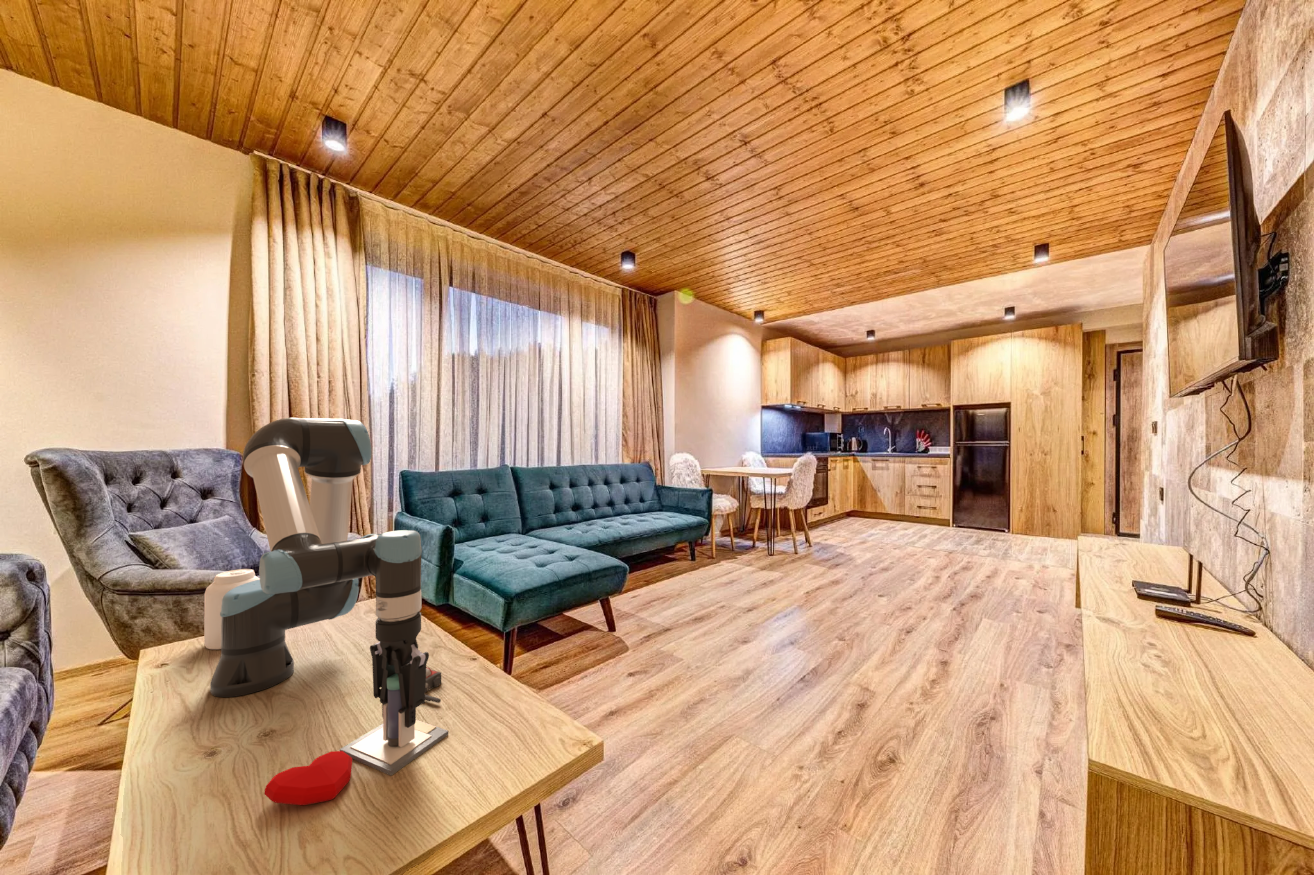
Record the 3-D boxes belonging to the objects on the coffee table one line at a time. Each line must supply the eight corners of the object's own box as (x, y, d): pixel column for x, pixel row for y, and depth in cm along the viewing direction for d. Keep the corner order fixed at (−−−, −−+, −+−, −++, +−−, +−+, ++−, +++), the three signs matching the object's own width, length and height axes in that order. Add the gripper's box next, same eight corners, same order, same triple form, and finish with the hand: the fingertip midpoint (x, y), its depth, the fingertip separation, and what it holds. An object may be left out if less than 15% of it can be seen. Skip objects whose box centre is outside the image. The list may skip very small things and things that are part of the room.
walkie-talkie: (372, 691, 106) (435, 710, 99) (372, 672, 107) (435, 689, 99) (406, 673, 115) (467, 690, 107) (406, 655, 115) (467, 671, 107)
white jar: (262, 628, 142) (262, 563, 142) (263, 641, 132) (264, 572, 133) (205, 640, 133) (205, 571, 133) (203, 655, 124) (203, 581, 124)
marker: (382, 744, 85) (382, 679, 85) (401, 731, 89) (401, 669, 89) (396, 749, 84) (396, 683, 84) (415, 737, 87) (415, 673, 87)
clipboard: (339, 753, 85) (339, 748, 85) (399, 717, 96) (399, 712, 96) (391, 775, 79) (390, 770, 79) (448, 734, 90) (448, 729, 90)
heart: (369, 789, 78) (336, 764, 83) (375, 763, 79) (341, 740, 83) (289, 830, 68) (256, 800, 72) (296, 800, 68) (263, 771, 73)
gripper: (350, 614, 86) (350, 739, 86) (411, 629, 80) (411, 764, 79) (388, 602, 93) (388, 717, 93) (447, 614, 86) (447, 739, 86)
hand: (398, 739), depth 86 cm, fingers closed on marker, 4 cm apart
